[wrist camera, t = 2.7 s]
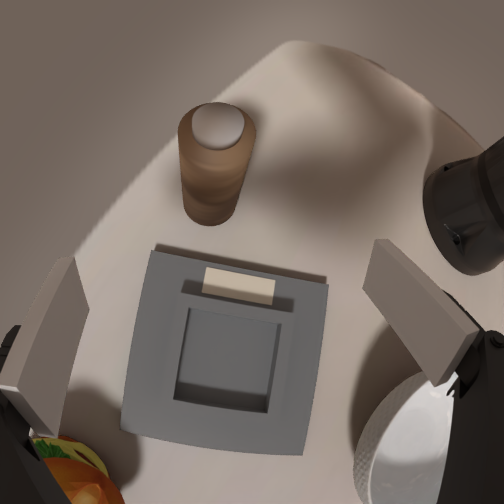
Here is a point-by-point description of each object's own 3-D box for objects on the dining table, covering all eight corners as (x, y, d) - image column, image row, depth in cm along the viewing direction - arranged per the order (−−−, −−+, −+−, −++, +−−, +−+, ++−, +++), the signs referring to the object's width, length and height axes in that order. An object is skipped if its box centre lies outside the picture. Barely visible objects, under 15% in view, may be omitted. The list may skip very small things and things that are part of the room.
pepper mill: (240, 183, 30) (263, 101, 19) (230, 231, 29) (252, 161, 17) (190, 174, 30) (189, 87, 18) (177, 220, 28) (166, 145, 17)
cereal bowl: (322, 514, 22) (351, 547, 15) (342, 367, 27) (382, 373, 20) (443, 481, 24) (480, 496, 18) (462, 358, 29) (505, 356, 22)
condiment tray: (324, 286, 29) (335, 281, 26) (299, 452, 24) (307, 460, 22) (152, 253, 27) (148, 244, 25) (122, 426, 22) (115, 434, 20)
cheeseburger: (22, 411, 20) (-14, 442, 11) (125, 436, 24) (129, 481, 15) (27, 492, 17) (5, 540, 8) (122, 514, 21) (131, 570, 12)
